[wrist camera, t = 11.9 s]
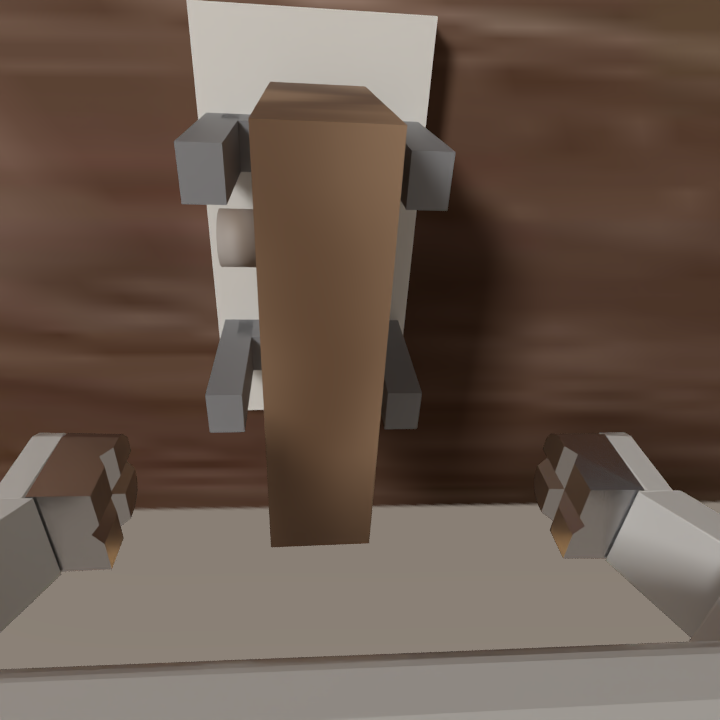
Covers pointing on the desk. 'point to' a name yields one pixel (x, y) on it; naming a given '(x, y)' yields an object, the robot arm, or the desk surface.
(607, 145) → the desk surface
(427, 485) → the desk surface
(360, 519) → the door panel
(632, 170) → the desk surface
